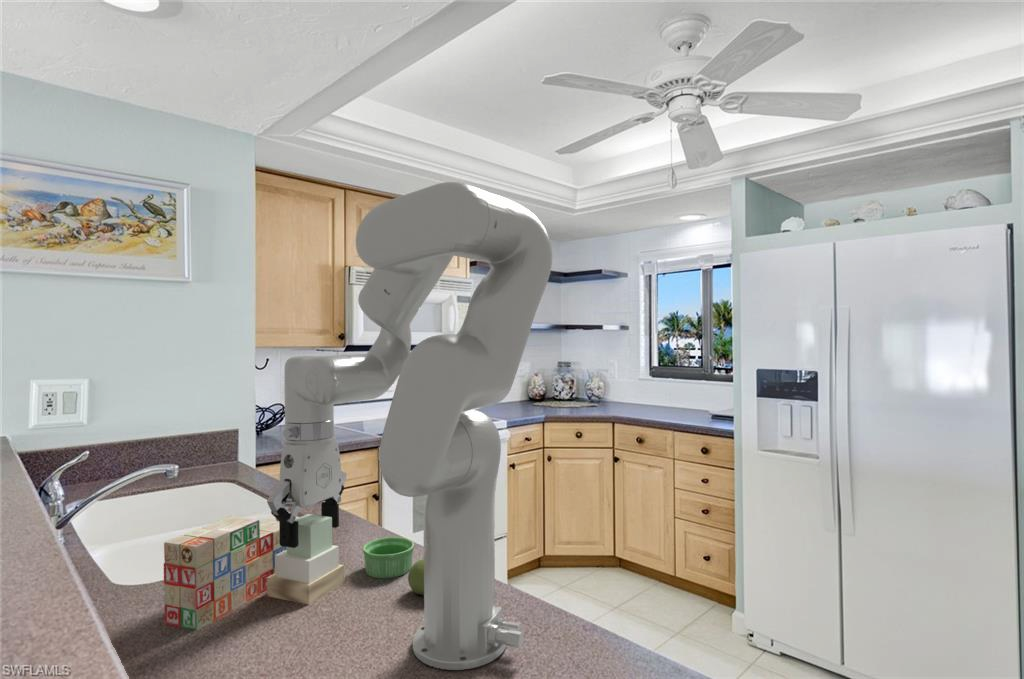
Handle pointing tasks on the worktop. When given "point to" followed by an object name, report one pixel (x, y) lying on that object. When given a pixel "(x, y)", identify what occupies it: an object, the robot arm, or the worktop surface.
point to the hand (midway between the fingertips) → (310, 535)
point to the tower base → (304, 587)
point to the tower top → (306, 565)
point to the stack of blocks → (218, 569)
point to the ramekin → (388, 557)
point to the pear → (417, 577)
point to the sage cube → (312, 535)
